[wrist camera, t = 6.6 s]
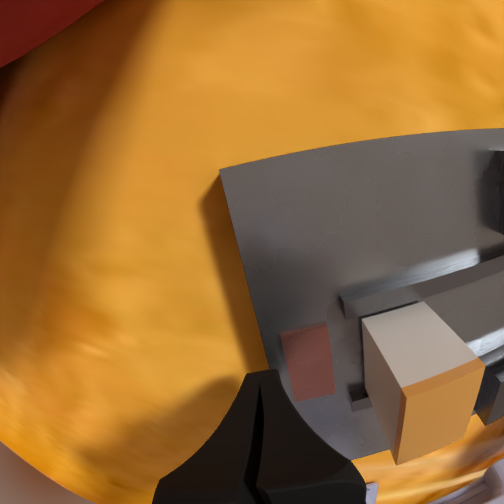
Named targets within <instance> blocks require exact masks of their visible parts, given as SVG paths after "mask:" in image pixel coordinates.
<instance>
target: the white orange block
mask: <svg viewBox="0 0 504 504" xmlns="http://www.w3.org/2000/svg"><path fill="white" fill-rule="evenodd" d="M362 332H363V349H364V372H365V388H366V391H367V393H368V396H369V398H370V400H371V403H372V405H373V408H374V410H375V413H376V415H377V418H378V420H379V423H380V425H381V428H382V430H383V433H384V435H385V438H386V440H387V443H388V445H389V448H390V451H391V453H392V456H393V459H394V461H395V464H396V465H399V464H402V463H405V462H408V461H410V460H413V459H416V458H418V457H421V456H424V455H426V454H429V453H431V452H433V451H436V450H438V449H440V448H443V447H445V446H447V445H450V444H452V443H454V442H456V441H458V440H460V439H462V438H463V437H464V434H465V431H466V429H467V426H468V423H469V420H470V417H471V415H472V412H473V409H474V405H475V402H476V399H477V396H478V392H479V389H480V385H481V382H482V378H483V374H484V370H485V366H486V365H485V364H484V363H483V362H482V361H481V360H480V359H479V358H478V357H477V356H476V354H475V353H474V352H473V351H472V350H471V349H470V348H469V347H468V346H467V345H466V344H465V343H464V342H463V341H462V340H461V338H460V337H459V336H458V335H457V334H456V333H455V332H454V331H453V330H452V329H451V328H450V327H449V326H448V325H447V324H446V323H445V322H444V321H443V320H442V319H441V318H440V317H439V316H438V315H437V314H436V313H435V312H434V311H433V310H432V309H431V308H430V307H429V306H428V305H427V304H426V303H425V302H424V301H423V302H420V303H416V304H413V305H410V306H406V307H403V308H400V309H396V310H393V311H389V312H386V313H382V314H378V315H375V316H371V317H367V318H364V319H362Z"/></svg>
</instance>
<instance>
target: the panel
mask: <svg viewBox="0 0 504 504" xmlns="http://www.w3.org/2000/svg"><path fill="white" fill-rule="evenodd" d="M219 172H220V176H221V180H222V184H223V188H224V192H225V196H226V200H227V204H228V208H229V212H230V216H231V220H232V224H233V228H234V232H235V236H236V240H237V244H238V248H239V252H240V256H241V260H242V264H243V268H244V272H245V276H246V280H247V284H248V287H249V291H250V295H251V299H252V303H253V307H254V311H255V315H256V318H257V322H258V326H259V330H260V334H261V338H262V341H263V345H264V349H265V353H266V357H267V360H268V364H269V368H270V369H277V370H279V374H280V378H281V382H282V385H283V388H284V390H285V392H286V393H287V395H288V397H289V399H290V401H291V402H292V404H293V405H294V407H295V408H296V410H297V411H298V413H299V414H300V415H301V417H302V418H303V419H304V420H305V422H306V423H307V424H308V425H309V426H310V427H311V428H312V429H313V431H314V432H315V433H316V434H317V435H319V436H320V437H321V438H322V439H323V440H324V441H325V442H326V443H327V444H328V445H330V446H331V447H332V448H333V449H335V450H336V451H337V452H339V453H340V454H342V455H343V456H344V457H346V458H348V459H349V460H354V459H357V458H361V457H365V456H368V455H372V454H375V453H378V452H382V451H385V450H388V449H390V448H389V445H388V443H387V440H386V438H385V435H384V433H383V430H382V428H381V425H380V423H379V420H378V418H377V415H376V413H375V410H374V408H373V405H372V403H371V400H370V398H369V396H368V393H367V391H366V388H365V372H364V349H363V332H362V319H364V318H367V317H371V316H375V315H378V314H382V313H386V312H389V311H393V310H396V309H400V308H403V307H406V306H410V305H413V304H416V303H420V302H423V301H424V302H425V303H426V304H427V305H428V306H429V307H430V308H431V309H432V310H433V311H434V312H435V313H436V314H437V315H438V316H439V317H440V318H441V319H442V320H443V321H444V322H445V323H446V324H447V325H448V326H449V327H450V328H451V329H452V330H453V331H454V332H455V333H456V334H457V335H458V336H459V337H460V338H461V340H462V341H463V342H464V343H465V344H466V345H467V346H468V347H469V348H470V349H471V350H472V351H473V352H474V353H475V354H476V356H477V357H478V358H479V359H480V360H481V361H482V362H483V363H484V364H485V365H486V366H485V370H484V374H483V378H482V382H481V385H480V389H479V392H478V396H477V399H476V402H475V405H474V409H473V412H472V415H474V414H476V413H477V415H478V416H479V418H480V419H481V421H482V422H483V424H484V425H485V426H487V425H488V424H490V423H492V422H494V421H496V420H497V419H499V418H501V417H502V416H504V128H498V129H474V130H458V131H445V132H433V133H423V134H413V135H404V136H396V137H388V138H380V139H373V140H366V141H359V142H353V143H346V144H340V145H334V146H328V147H322V148H317V149H311V150H306V151H301V152H296V153H290V154H286V155H281V156H276V157H271V158H266V159H262V160H257V161H253V162H248V163H244V164H240V165H236V166H231V167H227V168H223V169H220V170H219ZM472 415H471V416H472Z"/></svg>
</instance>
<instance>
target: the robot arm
mask: <svg viewBox="0 0 504 504" xmlns="http://www.w3.org/2000/svg"><path fill="white" fill-rule="evenodd" d="M377 492H378V483H376V482H374V483H370V484H366V483H365V481H364V479H363V477H362V476H361V474H360V473H359V471H358V470H357V468H356V467H355V466H354V465H353V463H352V462H351V461H350V460H349V459H348V458H346V457H344V456H343V455H342V454H340V453H339V452H337V451H336V450H335V449H333V448H332V447H331V446H330V445H328V444H327V443H326V442H325V441H324V440H323V439H322V438H321V437H320V436H319V435H317V434H316V433H315V432H314V431H313V429H312V428H311V427H310V426H309V425H308V424H307V423H306V422H305V420H304V419H303V418H302V417H301V415H300V414H299V413H298V411H297V410H296V408H295V407H294V405H293V404H292V402H291V401H290V399H289V397H288V395H287V393H286V392H285V390H284V388H283V385H282V382H281V378H280V374H279V370H277V369H270V370H265V371H259V372H253V373H247V374H246V376H245V378H244V380H243V383H242V385H241V387H240V390H239V392H238V394H237V396H236V398H235V400H234V402H233V404H232V405H231V407H230V409H229V411H228V412H227V414H226V416H225V417H224V419H223V420H222V422H221V423H220V425H219V426H218V428H217V429H216V430H215V432H214V433H213V434H212V435H211V437H210V438H209V439H208V440H207V441H206V442H205V443H204V445H203V446H202V447H201V448H200V449H199V450H198V451H197V452H196V453H195V454H194V455H193V456H191V457H190V458H189V459H188V460H187V461H186V462H185V463H183V464H182V465H181V466H179V467H178V468H177V469H175V470H174V471H172V472H171V473H169V474H168V475H166V476H165V477H163V478H162V479H160V480H159V483H158V485H157V487H156V490H155V494H154V497H153V501H152V504H375V503H376V498H377ZM428 504H504V457H503V458H502V459H500V460H498V461H497V462H495V463H494V464H492V465H491V466H490V467H489V468H488V469H487V470H486V472H485V473H484V476H483V477H482V478H480V479H478V480H476V481H474V482H472V483H471V484H469V485H467V486H465V487H463V488H461V489H459V490H457V491H455V492H452V493H450V494H448V495H446V496H444V497H442V498H439V499H437V500H435V501H432V502H430V503H428Z"/></svg>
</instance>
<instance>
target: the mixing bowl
mask: <svg viewBox="0 0 504 504" xmlns="http://www.w3.org/2000/svg"><path fill="white" fill-rule="evenodd" d="M103 1H104V0H0V68H1V67H3V66H5V65H6V64H8V63H10V62H12V61H14V60H16V59H18V58H20V57H21V56H23V55H25V54H26V53H28V52H29V51H31V50H33V49H34V48H36V47H38V46H39V45H41V44H42V43H43V42H45V41H46V40H48V39H49V38H51V37H53V36H54V35H56V34H57V33H59V32H61V31H62V30H64V29H65V28H67V27H68V26H69V25H71V24H72V23H74V22H75V21H77V20H78V19H79V18H80V17H82V16H83V15H84V14H86V13H87V12H88V11H90V10H91V9H93V8H94V7H95V6H97V5H98V4H100V3H101V2H103Z"/></svg>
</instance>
